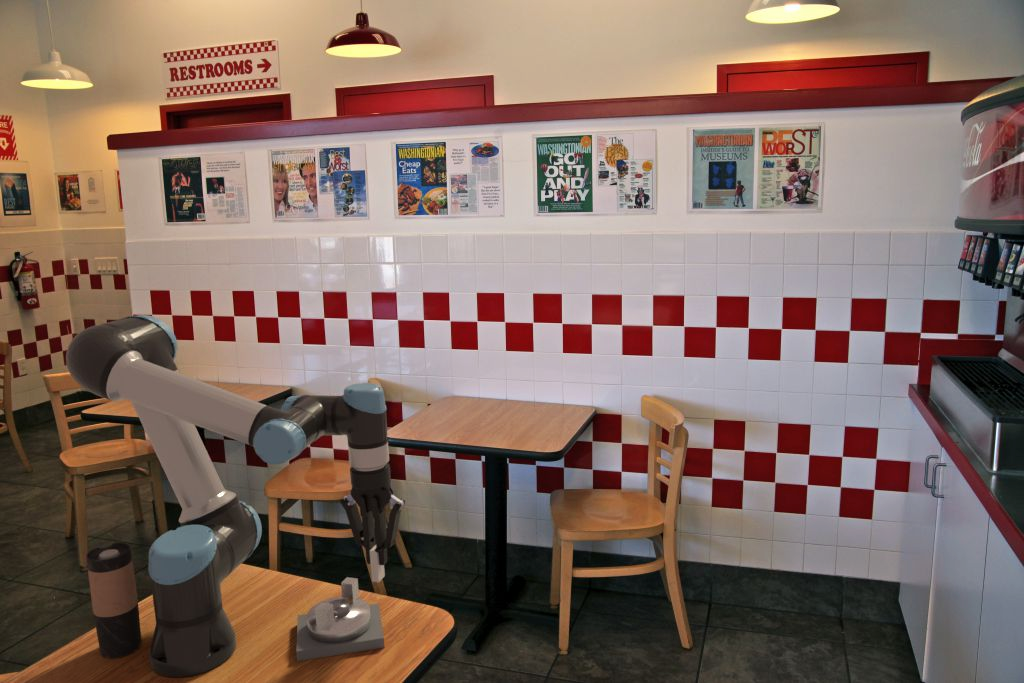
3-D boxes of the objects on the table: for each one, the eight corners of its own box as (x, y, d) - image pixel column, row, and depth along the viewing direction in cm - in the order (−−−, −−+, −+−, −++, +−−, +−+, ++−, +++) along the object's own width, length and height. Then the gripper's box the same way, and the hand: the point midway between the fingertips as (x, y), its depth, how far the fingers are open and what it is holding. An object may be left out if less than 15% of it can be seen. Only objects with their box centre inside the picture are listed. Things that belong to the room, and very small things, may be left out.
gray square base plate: (297, 661, 146) (296, 648, 145) (298, 624, 158) (297, 612, 157) (384, 647, 149) (383, 635, 149) (379, 612, 162) (378, 600, 161)
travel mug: (125, 661, 147) (112, 562, 143) (89, 657, 148) (75, 559, 144) (151, 638, 154) (139, 543, 150) (117, 635, 156) (104, 540, 152)
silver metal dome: (307, 646, 146) (304, 613, 145) (307, 613, 157) (305, 582, 156) (372, 636, 149) (370, 604, 148) (368, 604, 160) (366, 574, 159)
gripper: (409, 459, 152) (416, 573, 156) (348, 456, 155) (357, 566, 160) (392, 473, 145) (401, 591, 149) (329, 469, 148) (339, 584, 153)
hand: (378, 578), depth 155 cm, fingers closed
